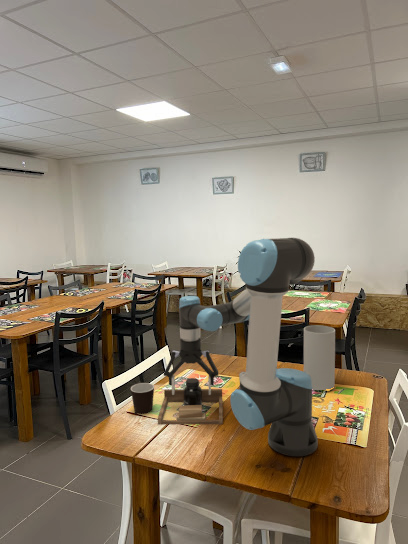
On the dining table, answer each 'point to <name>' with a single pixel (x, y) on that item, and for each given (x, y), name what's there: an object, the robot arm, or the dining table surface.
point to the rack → (179, 397)
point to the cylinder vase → (320, 356)
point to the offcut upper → (190, 411)
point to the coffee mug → (142, 397)
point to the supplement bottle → (192, 392)
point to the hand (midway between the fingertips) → (191, 393)
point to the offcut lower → (193, 417)
